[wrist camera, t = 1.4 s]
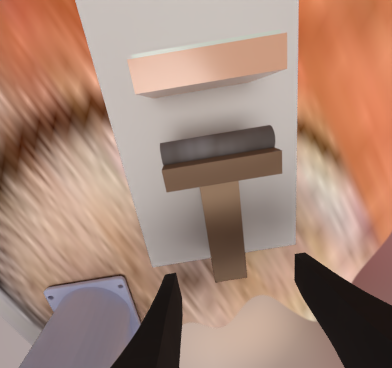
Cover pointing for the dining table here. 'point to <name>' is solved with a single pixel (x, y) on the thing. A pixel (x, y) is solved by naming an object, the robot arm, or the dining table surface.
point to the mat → (196, 115)
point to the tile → (208, 64)
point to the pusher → (222, 185)
